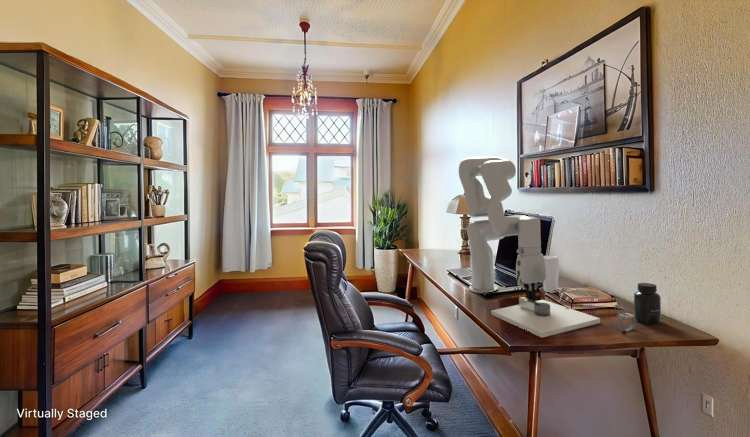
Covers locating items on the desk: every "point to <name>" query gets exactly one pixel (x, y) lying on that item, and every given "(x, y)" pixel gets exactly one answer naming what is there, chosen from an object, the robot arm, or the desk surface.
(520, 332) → the desk surface
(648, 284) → the supplement bottle
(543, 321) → the dial plate
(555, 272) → the drinking glass
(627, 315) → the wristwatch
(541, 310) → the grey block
